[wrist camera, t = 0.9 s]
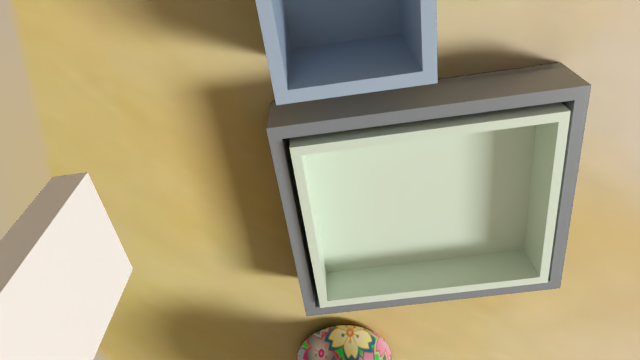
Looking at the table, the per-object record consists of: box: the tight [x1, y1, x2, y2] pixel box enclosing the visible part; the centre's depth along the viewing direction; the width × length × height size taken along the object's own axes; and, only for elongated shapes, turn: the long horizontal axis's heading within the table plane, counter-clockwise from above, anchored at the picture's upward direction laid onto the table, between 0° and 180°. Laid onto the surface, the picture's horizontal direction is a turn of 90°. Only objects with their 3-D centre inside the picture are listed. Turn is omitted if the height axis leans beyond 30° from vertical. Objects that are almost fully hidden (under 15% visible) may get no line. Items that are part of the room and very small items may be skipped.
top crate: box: [289, 102, 571, 308], centre depth 34 cm, size 13×16×4 cm
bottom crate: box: [266, 63, 591, 316], centre depth 34 cm, size 16×19×4 cm
